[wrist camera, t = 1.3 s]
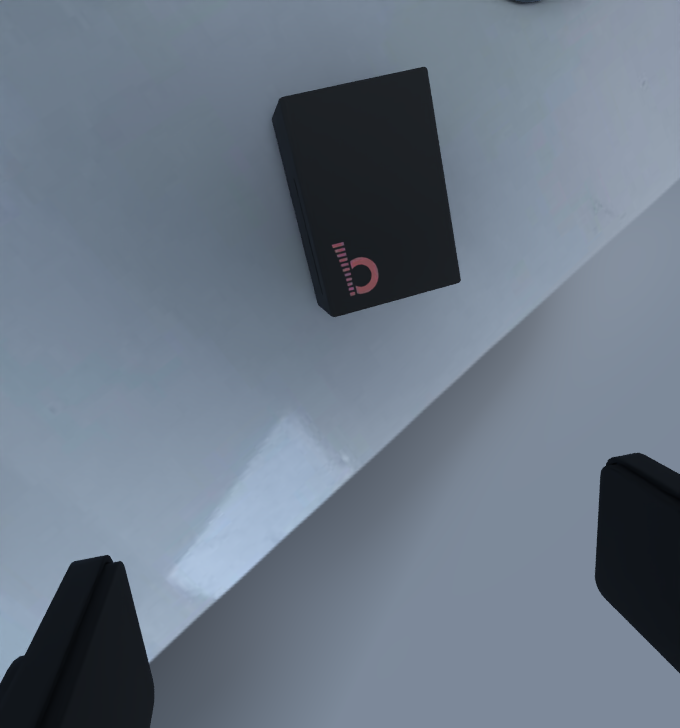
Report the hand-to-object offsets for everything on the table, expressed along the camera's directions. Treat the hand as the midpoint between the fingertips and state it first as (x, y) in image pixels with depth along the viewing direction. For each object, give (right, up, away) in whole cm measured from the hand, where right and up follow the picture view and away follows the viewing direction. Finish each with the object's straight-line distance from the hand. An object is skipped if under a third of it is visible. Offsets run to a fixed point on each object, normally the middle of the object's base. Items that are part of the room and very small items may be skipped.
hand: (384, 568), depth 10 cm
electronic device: (0, +14, +21) cm, 25 cm away
